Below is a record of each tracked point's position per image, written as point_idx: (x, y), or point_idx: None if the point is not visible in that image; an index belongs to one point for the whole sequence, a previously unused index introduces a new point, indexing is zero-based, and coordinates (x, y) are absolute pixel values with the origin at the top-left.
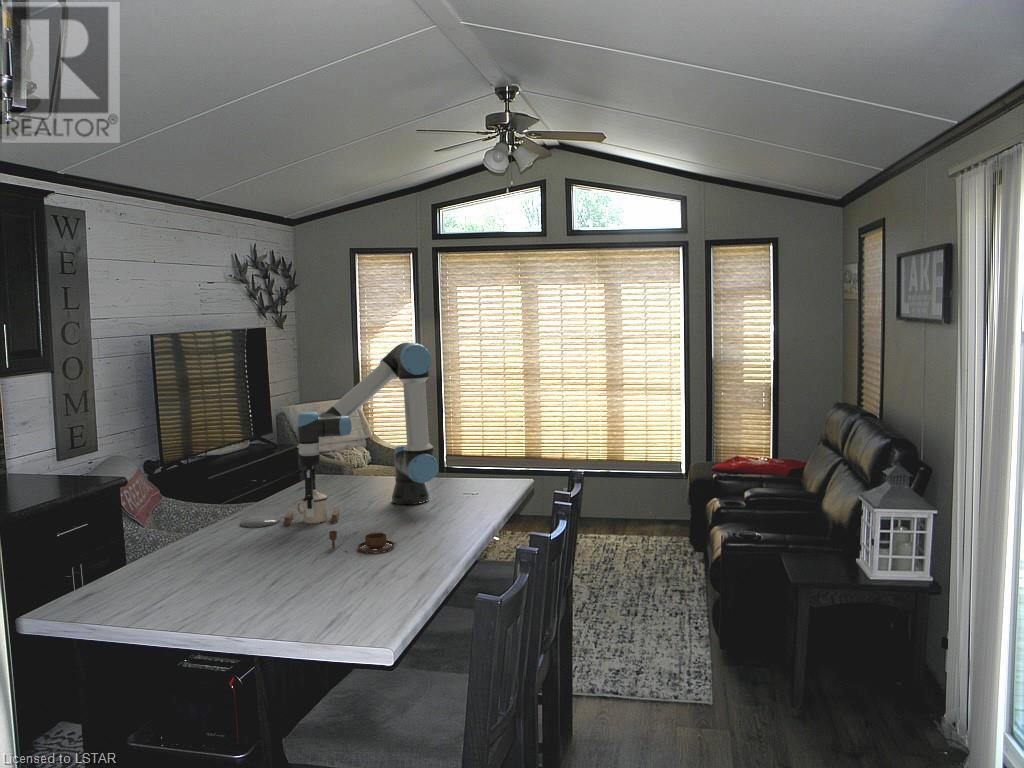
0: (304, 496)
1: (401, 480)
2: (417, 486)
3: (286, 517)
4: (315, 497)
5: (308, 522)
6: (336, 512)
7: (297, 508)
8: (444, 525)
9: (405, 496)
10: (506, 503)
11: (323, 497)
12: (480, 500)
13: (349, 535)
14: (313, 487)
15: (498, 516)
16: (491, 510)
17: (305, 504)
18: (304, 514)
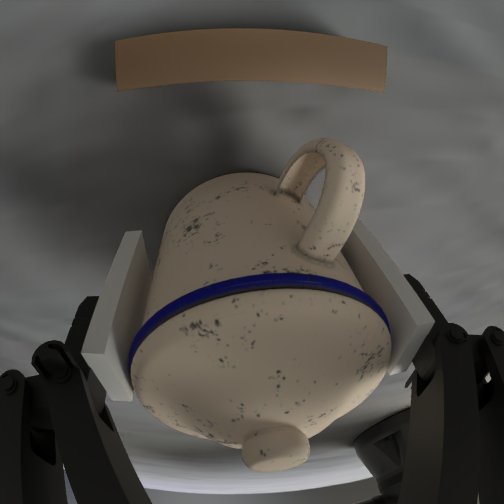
0: (293, 325)
1: (397, 479)
2: (373, 476)
3: (119, 58)
4: (171, 418)
5: (171, 214)
6: None
7: (314, 146)
8: (144, 472)
9: (370, 451)
10: (287, 490)
11: (204, 437)
12: (326, 477)
13: (12, 368)
14: (414, 431)
15: (204, 493)
16: (247, 490)
17: (165, 287)
18: (197, 209)
